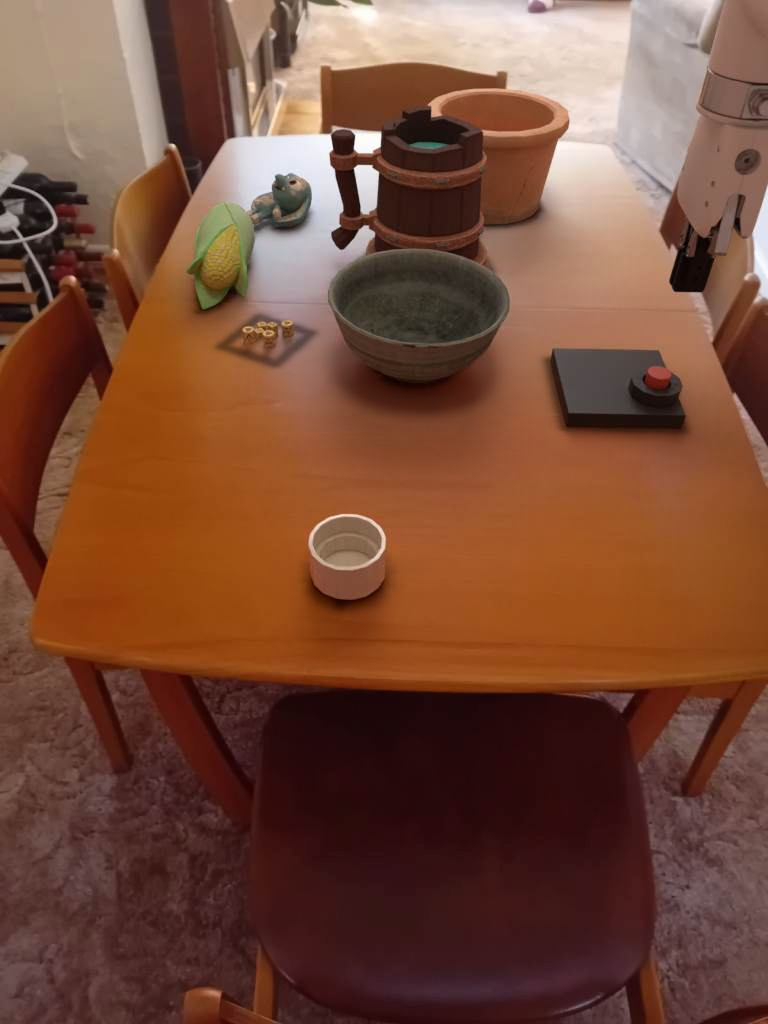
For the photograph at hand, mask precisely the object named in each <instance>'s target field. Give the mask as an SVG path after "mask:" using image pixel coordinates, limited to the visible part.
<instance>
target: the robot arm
mask: <svg viewBox="0 0 768 1024" xmlns="http://www.w3.org/2000/svg"><path fill="white" fill-rule="evenodd" d="M695 109H696V111H697V112H698V113H699V115H698V117H697V121H696V124H695V127H694V129H693V132H692V136H691V138H690V141H689V145H688V148H687V151H686V154H685V157H684V161H683V163H682V168H681V172H680V176H679V180H678V184H677V189H676V197H677V201H678V204H679V206H680V208H681V210H682V211H683V213H684V215H685V216H684V221H683V225H682V228H681V233H680V237H679V247H678V249H677V251H676V255H675V259H674V263H673V266H672V269H671V273H670V275H669V279H668V282H669V285H670V287H671V289H672V291H673V292H674V293H702V292H704V291H705V289H706V287H707V283H708V280H709V277H710V274H711V271H712V269H713V265H714V262H715V259H717V257H718V256H719V257H725V256H727V254H728V251H729V247H730V243H731V239H732V234H733V230H734V231H735V232H736V234H737V236H739V237H740V238H741V239H744V240H745V239H746V240H747V239H749V238H750V237H751V236H752V235H753V233H754V230H755V228H756V224H757V222H758V218H759V215H760V212H761V209H762V205H763V203H764V199H765V197H766V193H767V189H768V0H724V2H723V5H722V8H721V13H720V17H719V20H718V24H717V27H716V32H715V36H714V39H713V43H712V46H711V49H710V53H709V57H708V61H707V65H706V68H705V72H704V76H703V79H702V83H701V86H700V91H699V95H698V98H697V100H696V105H695Z"/></svg>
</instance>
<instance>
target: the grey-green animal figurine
mask: <svg viewBox="0 0 768 1024" xmlns="http://www.w3.org/2000/svg"><path fill="white" fill-rule="evenodd" d="M312 200H313V193H312V186H311V184H310V183H309V182H308V181H307V180H306V179H305V178H303V177H301V176H299V175H296V174H295V173H293V172H290V173H288V174H286V175H283V174H282V173H277V174H275V175H274V181H273V182H272V184H271V191H270V192H269V191H268V192H265V193H263V194H260V195H258V196H256V198H254V199H253V200H252V203H251V205H250V209H249V210H247V211H246V212H247V214H248V215H249V216H250V218H251V220H252V223H253V226H258V225H260V224H261V223H262V222H263V221H264V220H269V219H271V218H273V219H274V222H273V224H274V226H275V227H278V228H279V227H281V228H290V227H294V226H298V225H299V224H300V223H302V222H303V220H304V218H306V215H307V213H309V210H310V208H311V205H312ZM282 213H284V214H285V215H284V216H283V217H282Z"/></svg>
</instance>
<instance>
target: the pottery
mask: <svg viewBox="0 0 768 1024" xmlns="http://www.w3.org/2000/svg"><path fill="white" fill-rule="evenodd" d="M427 106H431V117H437V116H443V115H448V116H450V117H453V118H456V119H459V120H462V121H465V122H468V123H471V124H473V125H474V126H476V127H477V128H479V129H480V130H482V131H483V152H484V153H485V155H486V156H487V158H486V171H485V173H484V174H483V175H482V181H481V206H480V211H481V213H482V215H483V217H484V225H487V226H489V225H508V224H513V223H514V224H515V223H518V222H521V221H524V220H526V219H529V218H530V217H532V216H534V214H535V213H536V212H537V211H538V209H539V207H540V202H541V199H542V196H543V193H544V188H545V186H546V183H547V180H548V175H549V172H550V169H551V166H552V163H553V158H554V155H555V152H556V149H557V146H558V142H559V139H562V137H563V136H564V135H565V134H566V132H567V131H568V130H569V127H570V122H571V119H570V116H569V110H568V109H567V108H566V107H564V106H563V105H562V104H561V103H559V101H555V100H553V99H551V98H548V97H546V96H543V95H540V94H536V93H532V92H528V91H523V90H519V89H518V90H517V89H509V88H499V87H497V88H496V87H495V88H492V87H491V88H490V87H489V88H469V89H462V90H455V91H451V92H448V93H446V94H445V93H444V94H442V95H439V96H437V97H435V98H434V99H432V100H431V101H430V102H429V103H428V104H427Z"/></svg>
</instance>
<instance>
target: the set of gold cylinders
mask: <svg viewBox="0 0 768 1024" xmlns="http://www.w3.org/2000/svg"><path fill="white" fill-rule="evenodd" d="M280 324H281V325H280V326H281V335H282V338H283V339H285V340H290V339H293V338H294V336H295V333H294V322H293V321H292V320H289V319H285V320H283V321H281V323H280ZM256 326H257V328H254V326H249V325H247V326H245V327H243V328H242V338H243V343H244V344H245V345H246V346H253V345H255V344H256V343H257V341H256V339H257V340H261V339H262V342H263V348H264V349H265V350H273V349H275V348H276V340H277V339H278V337H279V324H278V323H276V322H274V321H271V322H269V323H267V324H266V322H265V321H260V322H256Z"/></svg>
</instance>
